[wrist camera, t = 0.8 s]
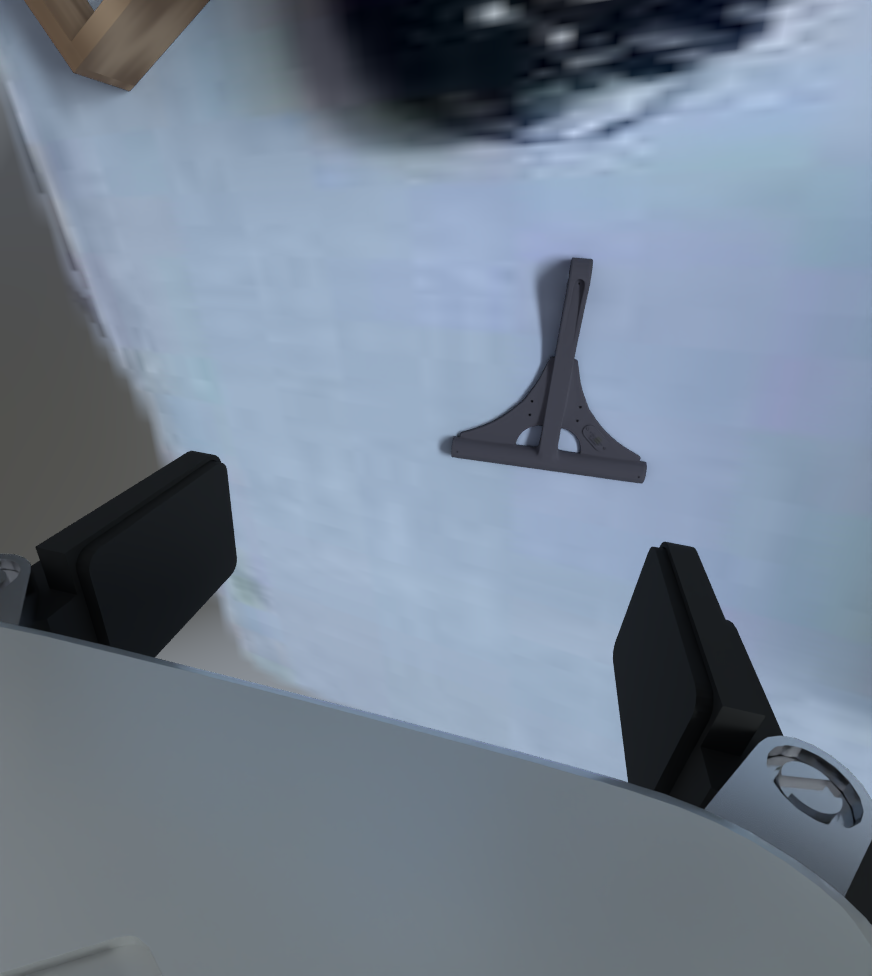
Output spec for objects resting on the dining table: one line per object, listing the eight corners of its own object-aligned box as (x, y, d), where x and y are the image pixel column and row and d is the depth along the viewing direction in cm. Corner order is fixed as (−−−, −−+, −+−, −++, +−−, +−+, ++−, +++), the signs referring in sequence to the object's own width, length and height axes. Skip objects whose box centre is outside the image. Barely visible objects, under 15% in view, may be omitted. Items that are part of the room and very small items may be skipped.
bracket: (697, 267, 32) (709, 270, 30) (639, 477, 39) (644, 494, 37) (472, 249, 34) (466, 250, 32) (454, 451, 41) (447, 465, 39)
